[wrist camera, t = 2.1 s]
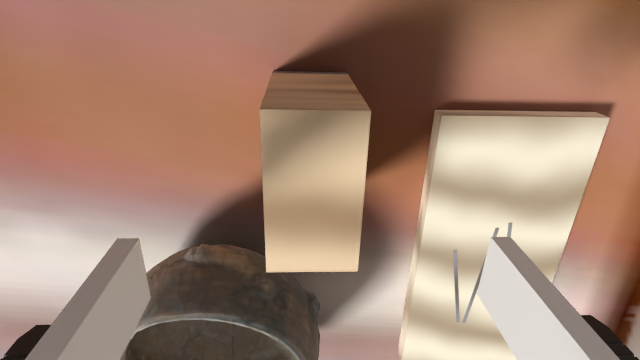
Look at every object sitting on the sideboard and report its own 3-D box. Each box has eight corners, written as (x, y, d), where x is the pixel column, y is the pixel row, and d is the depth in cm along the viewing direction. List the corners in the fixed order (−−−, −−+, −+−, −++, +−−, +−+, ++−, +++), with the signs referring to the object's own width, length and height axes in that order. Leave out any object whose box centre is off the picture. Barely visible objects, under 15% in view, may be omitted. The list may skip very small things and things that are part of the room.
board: (435, 109, 28) (441, 115, 27) (595, 111, 29) (610, 117, 27) (397, 350, 38) (401, 363, 37) (516, 347, 39) (524, 360, 37)
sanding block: (273, 70, 26) (259, 109, 17) (346, 72, 27) (371, 110, 18) (276, 189, 30) (266, 272, 21) (340, 189, 30) (357, 271, 21)
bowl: (217, 179, 30) (181, 260, 20) (356, 287, 35) (376, 389, 26) (115, 287, 33) (46, 395, 24) (254, 370, 38) (240, 484, 29)
